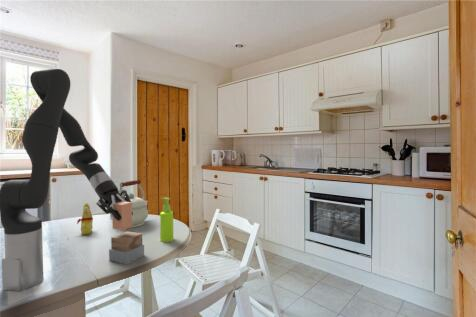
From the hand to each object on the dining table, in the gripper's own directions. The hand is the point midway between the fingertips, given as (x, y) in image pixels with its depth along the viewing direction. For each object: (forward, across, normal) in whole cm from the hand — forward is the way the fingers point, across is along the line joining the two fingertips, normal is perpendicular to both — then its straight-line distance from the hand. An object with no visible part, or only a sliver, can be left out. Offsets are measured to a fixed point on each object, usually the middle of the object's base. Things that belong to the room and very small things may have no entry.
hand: (125, 217), depth 101 cm
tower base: (+12, 0, +11) cm, 16 cm away
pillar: (+2, 0, +4) cm, 5 cm away
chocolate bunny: (-19, +14, +42) cm, 49 cm away
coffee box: (-27, +45, +50) cm, 73 cm away
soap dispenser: (+13, +22, +10) cm, 27 cm away
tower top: (+9, 0, +8) cm, 12 cm away
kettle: (-12, +36, +35) cm, 51 cm away
